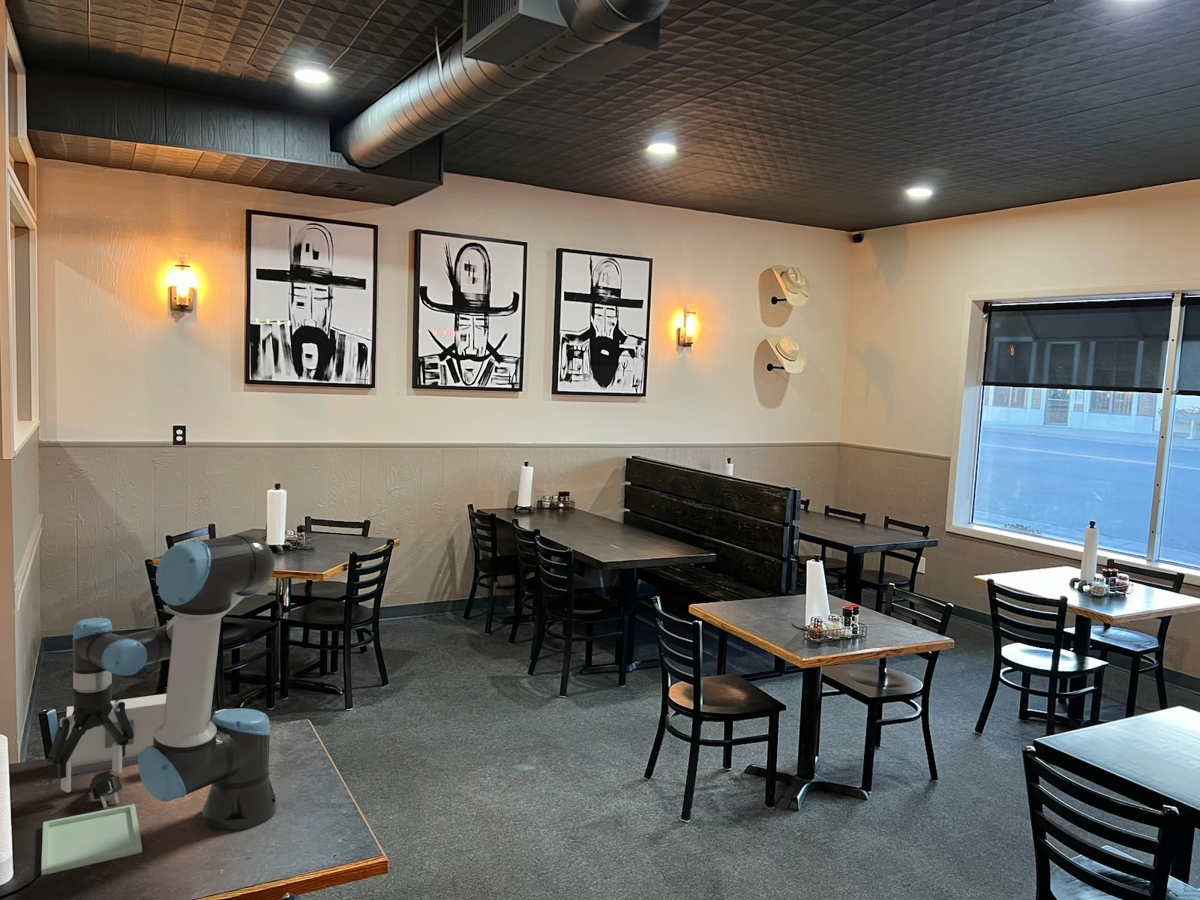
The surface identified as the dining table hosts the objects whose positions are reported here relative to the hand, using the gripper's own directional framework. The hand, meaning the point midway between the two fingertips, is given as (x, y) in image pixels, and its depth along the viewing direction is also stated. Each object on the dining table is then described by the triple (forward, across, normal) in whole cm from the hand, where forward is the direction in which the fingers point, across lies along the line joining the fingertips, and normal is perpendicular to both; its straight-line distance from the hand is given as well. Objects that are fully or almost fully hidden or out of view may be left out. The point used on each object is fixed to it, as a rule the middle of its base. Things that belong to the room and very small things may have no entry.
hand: (92, 780), depth 195 cm
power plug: (+5, 0, 0) cm, 5 cm away
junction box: (+3, -13, -12) cm, 18 cm away
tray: (+3, +11, +20) cm, 23 cm away
